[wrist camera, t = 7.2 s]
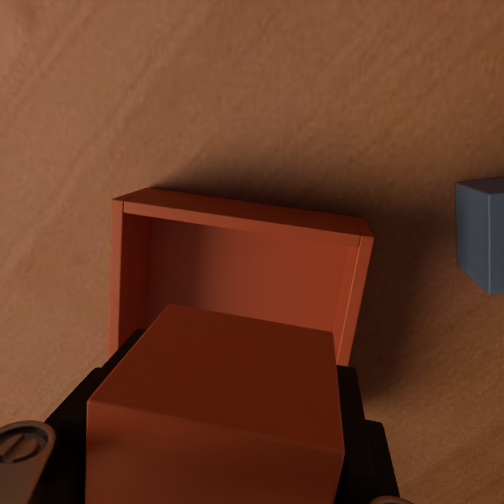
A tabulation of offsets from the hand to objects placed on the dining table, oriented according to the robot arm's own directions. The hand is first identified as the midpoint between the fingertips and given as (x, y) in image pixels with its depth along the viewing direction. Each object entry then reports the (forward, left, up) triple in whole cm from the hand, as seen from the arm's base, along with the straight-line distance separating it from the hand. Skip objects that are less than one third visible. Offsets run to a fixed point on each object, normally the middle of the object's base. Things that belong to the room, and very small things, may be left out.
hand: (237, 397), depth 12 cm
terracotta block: (0, 0, 0) cm, 0 cm away
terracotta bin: (+2, +3, -13) cm, 14 cm away
